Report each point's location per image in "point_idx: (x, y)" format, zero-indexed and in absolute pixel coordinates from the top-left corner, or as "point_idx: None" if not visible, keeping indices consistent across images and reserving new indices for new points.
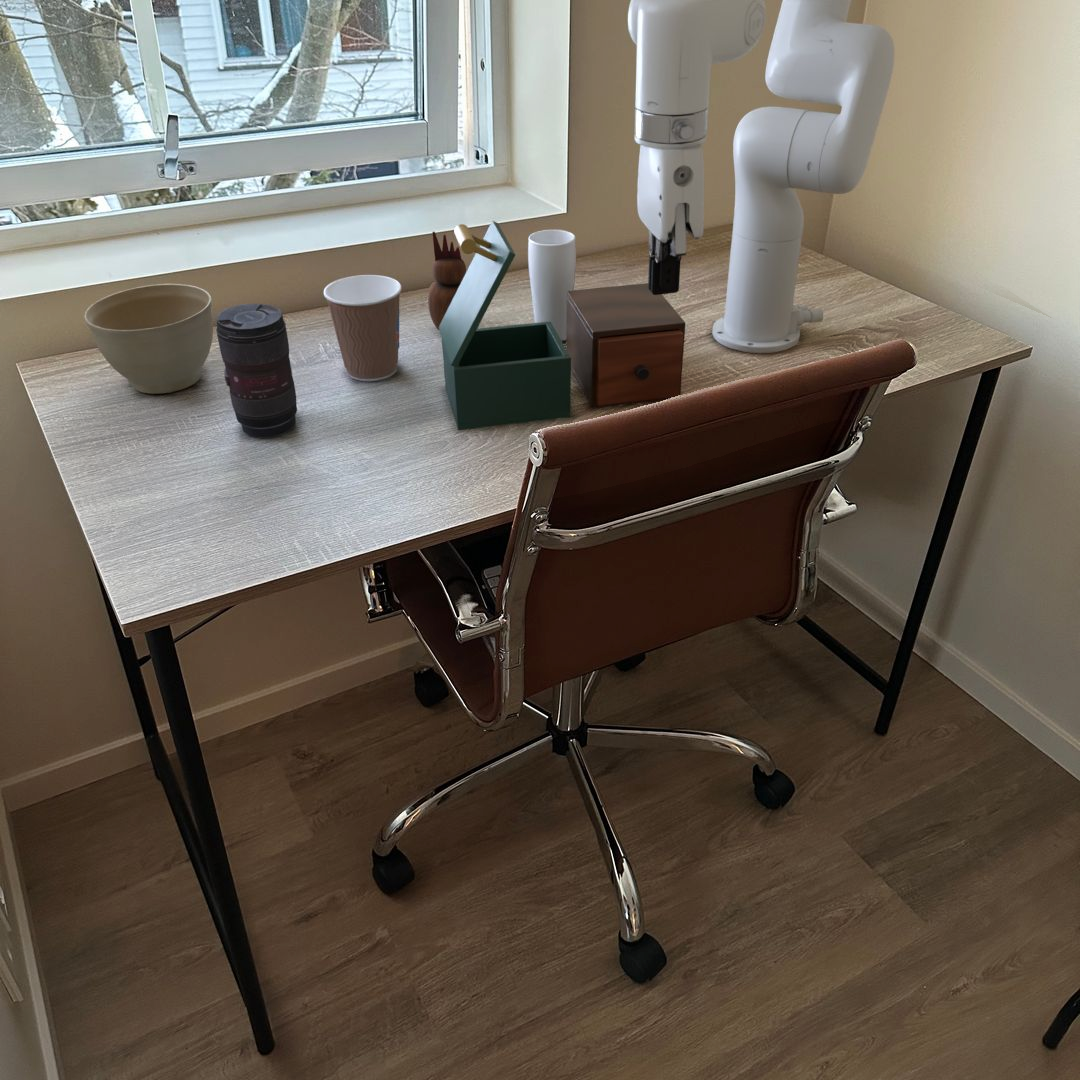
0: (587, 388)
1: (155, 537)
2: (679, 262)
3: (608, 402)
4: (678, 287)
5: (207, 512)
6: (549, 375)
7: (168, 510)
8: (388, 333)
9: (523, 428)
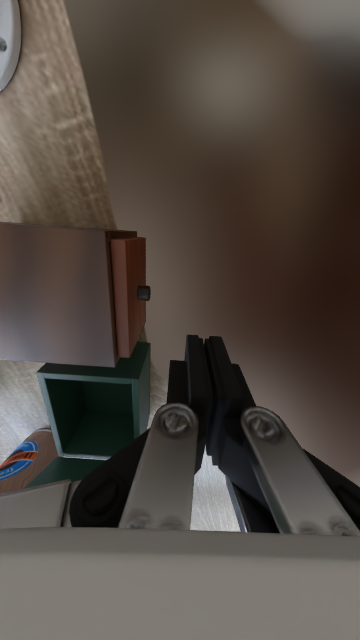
0: None
1: (211, 521)
2: (239, 390)
3: (145, 314)
4: (221, 340)
5: (198, 508)
6: (142, 385)
7: (191, 518)
8: (40, 470)
9: (158, 377)
